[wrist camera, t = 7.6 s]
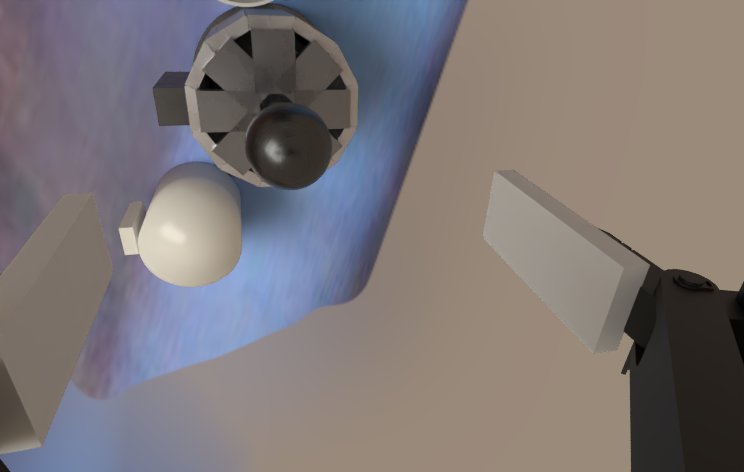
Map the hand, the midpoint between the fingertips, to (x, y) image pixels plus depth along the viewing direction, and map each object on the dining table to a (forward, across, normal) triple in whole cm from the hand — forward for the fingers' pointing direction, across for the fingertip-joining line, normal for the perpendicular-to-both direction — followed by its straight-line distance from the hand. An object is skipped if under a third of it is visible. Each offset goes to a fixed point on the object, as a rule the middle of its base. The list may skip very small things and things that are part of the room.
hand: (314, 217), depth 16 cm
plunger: (+27, 0, -1) cm, 27 cm away
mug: (+29, -7, -12) cm, 32 cm away
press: (+29, 0, -1) cm, 29 cm away
